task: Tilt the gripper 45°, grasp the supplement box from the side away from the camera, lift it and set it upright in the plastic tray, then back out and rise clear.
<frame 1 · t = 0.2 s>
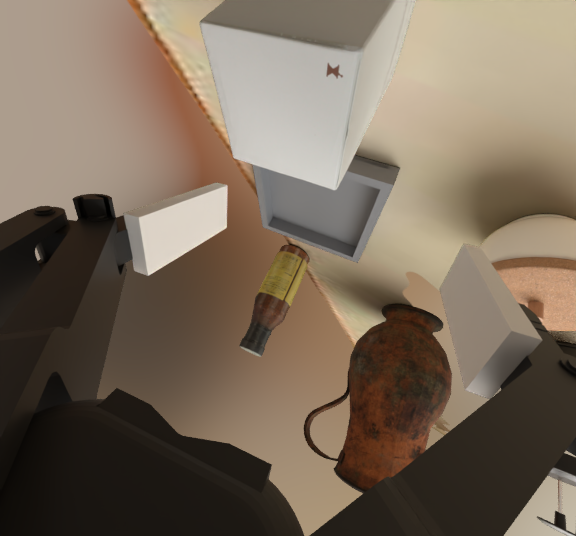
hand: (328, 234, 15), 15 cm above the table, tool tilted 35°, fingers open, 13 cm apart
lidded jar: (538, 233, 27), on the table
pitcher: (400, 313, 54), on the table
supplement box: (357, 12, 19), on the table
french press: (561, 351, 42), on the table
tray: (318, 198, 36), on the table
sauce bottle: (297, 252, 51), on the table
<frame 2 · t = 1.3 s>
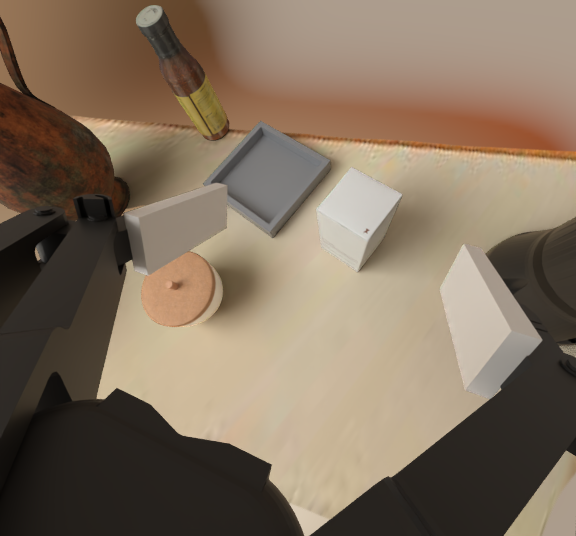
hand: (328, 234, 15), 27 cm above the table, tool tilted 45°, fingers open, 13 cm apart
lidded jar: (202, 296, 44), on the table
pitcher: (112, 194, 54), on the table
supplement box: (351, 243, 43), on the table
tray: (267, 180, 48), on the table
sauce bottle: (215, 130, 54), on the table
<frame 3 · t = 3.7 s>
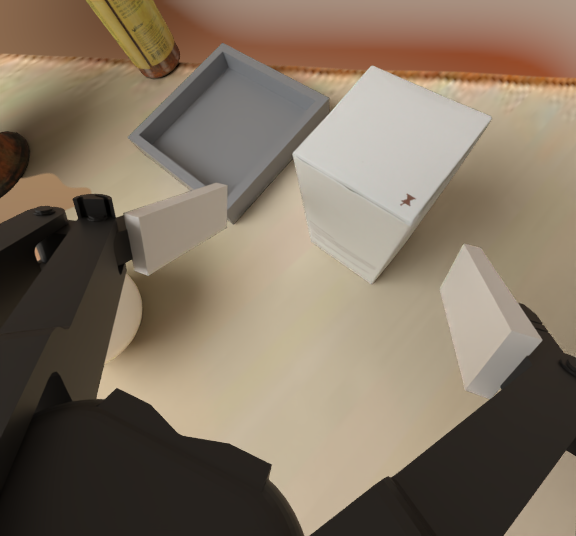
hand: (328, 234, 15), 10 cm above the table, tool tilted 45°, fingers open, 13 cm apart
lidded jar: (116, 318, 27), on the table
pitcher: (6, 157, 36), on the table
supplement box: (361, 234, 26), on the table
tray: (231, 135, 31), on the table
sauce bottle: (160, 65, 36), on the table
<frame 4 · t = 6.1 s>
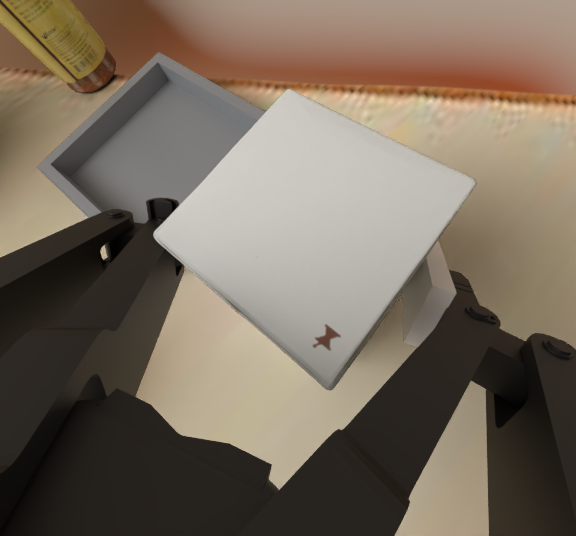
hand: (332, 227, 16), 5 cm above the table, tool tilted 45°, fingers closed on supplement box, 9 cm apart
supplement box: (319, 293, 20), on the table, touching gripper
tray: (167, 163, 25), on the table
sauce bottle: (94, 78, 31), on the table
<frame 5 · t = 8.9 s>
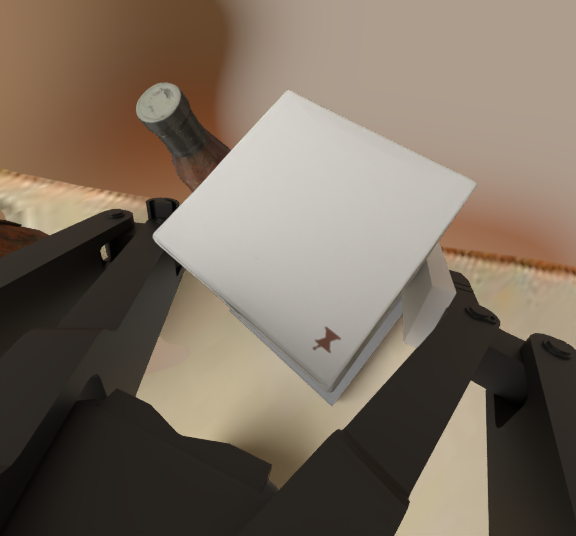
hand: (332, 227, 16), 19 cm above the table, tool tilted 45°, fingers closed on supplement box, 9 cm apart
pitcher: (103, 302, 39), on the table
supplement box: (319, 294, 20), point 14 cm above the table, touching gripper
tray: (320, 304, 34), on the table
sauce bottle: (243, 217, 40), on the table
when the fingers open (7 cm above the table, at t = 11.8 s): supplement box drops 1 cm, resting on tray.
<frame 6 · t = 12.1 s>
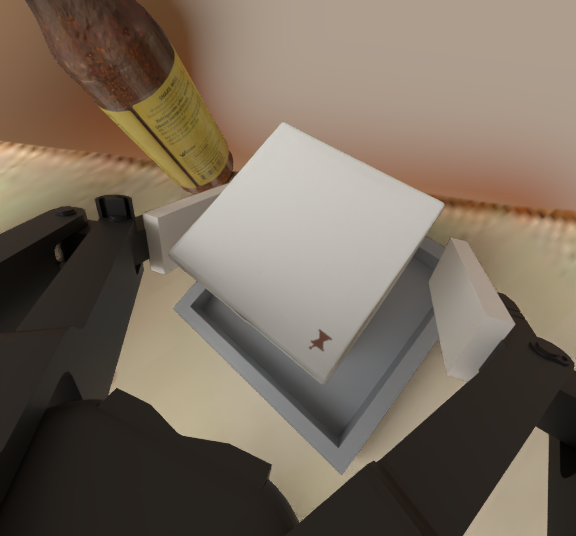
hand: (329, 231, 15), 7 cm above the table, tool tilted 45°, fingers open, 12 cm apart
supplement box: (316, 297, 21), resting on tray
tray: (319, 297, 22), on the table
sauce bottle: (205, 172, 27), on the table
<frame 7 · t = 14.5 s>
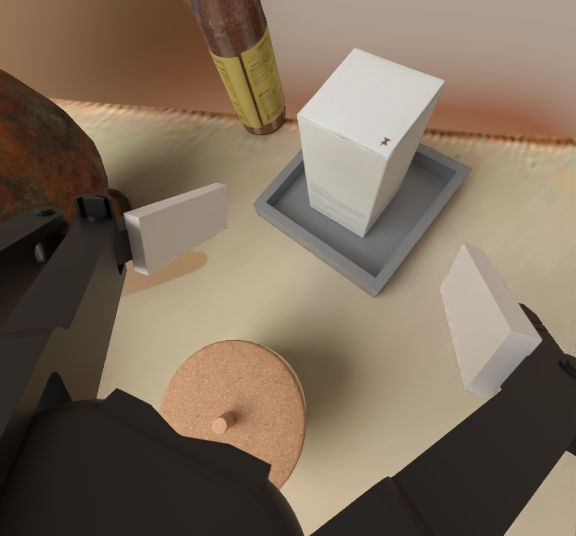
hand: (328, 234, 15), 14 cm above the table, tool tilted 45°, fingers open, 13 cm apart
lidded jar: (257, 398, 26), on the table
pitcher: (105, 215, 35), on the table
supplement box: (353, 198, 30), resting on tray
tray: (355, 199, 30), on the table
sauce bottle: (263, 120, 36), on the table
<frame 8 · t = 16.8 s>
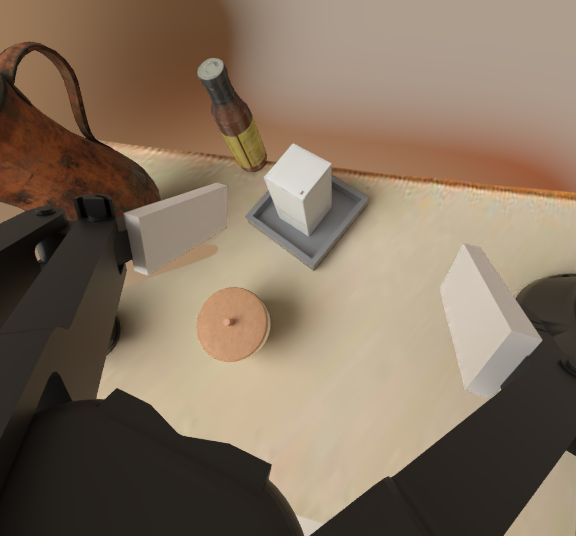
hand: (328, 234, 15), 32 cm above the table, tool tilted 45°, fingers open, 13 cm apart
lidded jar: (246, 326, 46), on the table
pitcher: (153, 222, 55), on the table
supplement box: (305, 213, 50), resting on tray
tray: (306, 213, 51), on the table
sauce bottle: (252, 161, 56), on the table
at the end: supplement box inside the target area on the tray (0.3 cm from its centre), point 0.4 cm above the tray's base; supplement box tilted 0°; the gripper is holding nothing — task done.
